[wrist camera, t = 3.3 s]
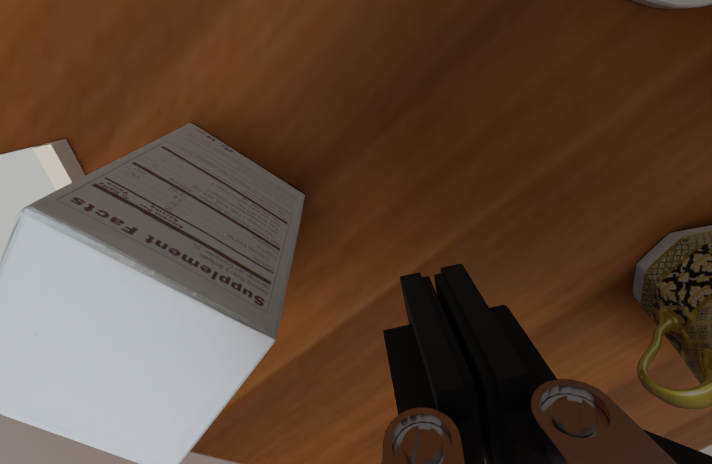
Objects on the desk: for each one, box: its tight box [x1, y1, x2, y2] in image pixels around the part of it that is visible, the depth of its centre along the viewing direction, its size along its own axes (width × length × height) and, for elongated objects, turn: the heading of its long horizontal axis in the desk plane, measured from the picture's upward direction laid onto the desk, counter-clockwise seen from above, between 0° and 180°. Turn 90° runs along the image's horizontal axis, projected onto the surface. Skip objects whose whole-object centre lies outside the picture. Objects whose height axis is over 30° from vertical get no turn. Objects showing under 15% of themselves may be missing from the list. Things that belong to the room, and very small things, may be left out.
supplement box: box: [0, 123, 305, 464], centre depth 17 cm, size 7×7×13 cm
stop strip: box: [32, 139, 86, 191], centre depth 23 cm, size 1×11×1 cm, turn 12°
